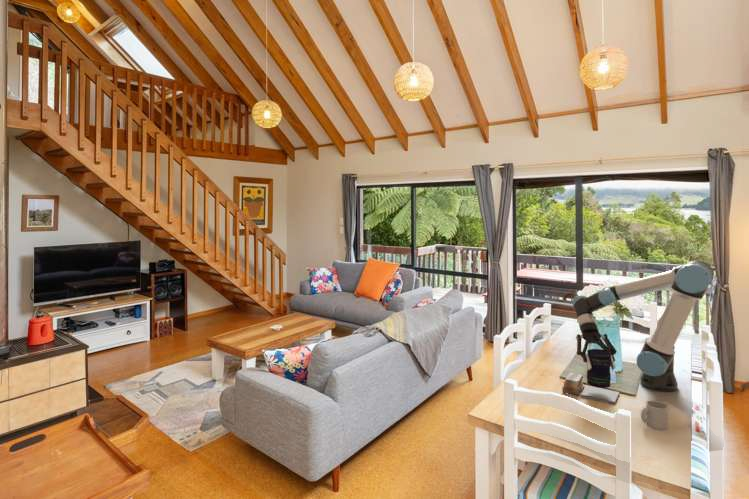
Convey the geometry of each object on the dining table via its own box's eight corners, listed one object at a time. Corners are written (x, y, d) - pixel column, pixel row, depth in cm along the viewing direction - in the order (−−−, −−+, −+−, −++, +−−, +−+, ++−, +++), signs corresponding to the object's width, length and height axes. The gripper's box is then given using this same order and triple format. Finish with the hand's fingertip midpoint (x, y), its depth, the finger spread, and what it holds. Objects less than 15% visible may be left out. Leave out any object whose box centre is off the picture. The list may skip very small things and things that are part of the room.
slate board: (619, 394, 199) (619, 392, 199) (614, 404, 190) (614, 401, 190) (586, 387, 208) (586, 385, 208) (580, 396, 198) (580, 394, 198)
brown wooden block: (584, 387, 208) (584, 374, 207) (578, 396, 199) (578, 382, 198) (568, 384, 212) (568, 371, 212) (562, 392, 203) (562, 379, 203)
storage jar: (583, 384, 199) (583, 353, 197) (591, 377, 206) (591, 347, 204) (606, 390, 192) (607, 357, 190) (613, 383, 198) (614, 352, 197)
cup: (672, 429, 167) (672, 408, 167) (647, 431, 167) (648, 409, 166) (658, 420, 175) (659, 399, 174) (635, 422, 174) (635, 401, 173)
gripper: (608, 328, 211) (624, 371, 197) (562, 329, 212) (574, 372, 198) (614, 321, 205) (630, 365, 191) (566, 321, 207) (578, 365, 193)
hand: (601, 368), depth 195 cm, fingers closed on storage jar, 10 cm apart
